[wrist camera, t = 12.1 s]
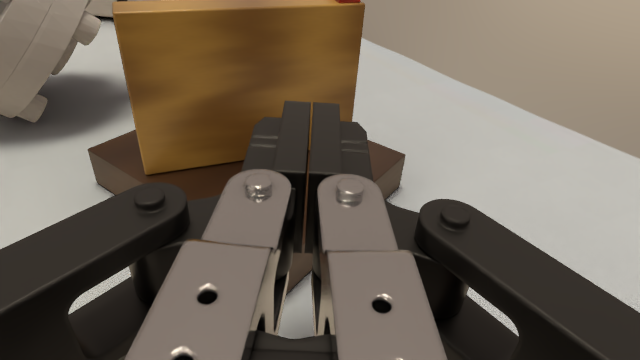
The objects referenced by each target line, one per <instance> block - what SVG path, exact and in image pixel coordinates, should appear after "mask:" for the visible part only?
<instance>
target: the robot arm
mask: <svg viewBox="0 0 640 360" xmlns="http://www.w3.org/2000/svg"><path fill="white" fill-rule="evenodd" d="M310 113H311V102H302V101H285V102H284V107H283V112H282V118H277V117H264V118H263V119H262V120H260V121H259V122H258V123H257V124H255V125H254V129H253V132H252V135H251V139H250V142H249V146H248V149H247V153H246V156H245V159H244V163H243V166H242V170H241V172H240V173H238V174H236V175H234V176H233V177H231V178H230V179H229V180H228V182H227V184H226V186H225V188H224V190H223V192H222V194H219V195H216V196H213V197H208V198H202V199H196V200H189V201H187V196H186V194H185V192H184V191H183V190H182V189H181V188H180V187H178V186H176V185H173V184H169V183H163V182H153V183H146V184H141V185H138V186H135V187H133V188H130V189H128V190H126V191H124V192H122V193H120V194H117V195H115V196H113V197H111V198H109V199H107V200H105V201H103V202H100V203H98V204H96V205H94V206H92V207H90V208H88V209H86V210H83V211H81V212H79V213H77V214H75V215H73V216H71V217H68V218H66V219H64V220H62V221H60V222H58V223H56V224H54V225H51V226H49V227H47V228H45V229H43V230H41V231H39V232H37V233H34V234H32V235H30V236H28V237H26V238H24V239H22V240H20V241H17V242H15V243H13V244H11V245H9V246H7V247H5V248H2V249H0V360H640V313H639V312H637V311H636V310H634V309H633V308H631V307H629V306H628V305H626V304H625V303H623V302H622V301H620V300H618V299H617V298H615V297H614V296H612V295H611V294H609V293H607V292H606V291H604V290H603V289H601V288H600V287H598V286H596V285H595V284H593V283H592V282H590V281H589V280H587V279H585V278H584V277H582V276H581V275H579V274H578V273H576V272H574V271H573V270H571V269H570V268H568V267H567V266H565V265H563V264H562V263H560V262H559V261H557V260H556V259H554V258H552V257H551V256H549V255H548V254H546V253H545V252H543V251H541V250H540V249H538V248H537V247H535V246H534V245H532V244H530V243H529V242H527V241H526V240H524V239H523V238H521V237H519V236H518V235H516V234H515V233H513V232H512V231H510V230H508V229H507V228H505V227H504V226H502V225H501V224H499V223H497V222H496V221H494V220H493V219H491V218H490V217H488V216H486V215H485V214H483V213H482V212H480V211H479V210H477V209H475V208H474V207H472V206H470V205H468V204H466V203H463V202H460V201H456V200H449V199H438V200H433V201H430V202H428V203H426V204H424V205H423V206H422V208H421V209H420V212H419V213H417V212H414V211H410V210H406V209H403V208H400V207H397V206H395V205H392V204H391V203H389V202H387V201H386V200H384V199H383V195H382V192H381V190H380V188H379V187H378V186H377V185H376V184H375V183H374V181H373V175H372V168H371V161H370V154H369V147H368V141H367V134H366V131H365V130H364V129H363V128H362V127H361V126H360V125H359V124H358V122H345V121H340V107H339V104H336V103H319V102H313V115H312V130H311V145H310V161H309V177H308V196H307V215H306V234H305V253H311V254H313V259H312V277H311V286H312V304H313V322H314V336H313V337H308V338H302V339H288V338H284V337H281V336H278V331H279V326H280V321H281V316H282V311H283V306H284V301H285V296H286V291H287V286H288V281H289V270H290V268H291V265H292V258H293V253H302V241H303V227H304V213H305V198H306V184H307V169H308V152H309V132H310ZM128 266H129V269H130V272H131V277H129V278H128V279H126V280H125V281H123V282H121V283H120V284H118V285H116V286H115V287H113V288H112V289H110V290H108V291H107V292H105V293H103V294H102V295H100V296H99V297H97V298H95V299H94V300H92V301H90V302H89V303H87V304H86V305H84V306H82V307H81V308H79V309H77V310H76V311H74V312H73V313H71V314H69V315H68V312H69V309H70V307H71V305H72V303H73V302H74V301H75V300H76V299H77V298H78V297H79V296H80V295H81V294H83V293H84V292H86V291H87V290H89V289H91V288H93V287H94V286H96V285H98V284H99V283H101V282H103V281H104V280H106V279H108V278H109V277H111V276H113V275H114V274H116V273H118V272H119V271H121V270H123V269H124V268H126V267H128ZM469 287H471V288H472V289H473V290H474V291H476V292H477V293H478V294H480V295H481V296H482V297H483V298H485V299H486V300H487V301H489V302H490V303H491V304H492V305H494V306H495V307H496V308H498V309H499V310H500V311H501V312H503V313H504V314H505V315H506V316H508V317H509V318H510V319H511V320H512V322H513V323H514V324H515V326H516V328H517V330H518V333H519V337H518V336H517V335H516V334H515V333H513V332H512V331H511V330H510V329H508V328H507V327H506V326H505V325H503V324H502V323H501V322H500V321H498V320H497V319H496V318H495V317H493V316H492V315H491V314H490V313H488V312H487V311H486V310H485V309H483V308H482V307H481V306H480V305H478V304H477V303H476V302H474V301H473V300H472V299H471V298H469V297H468V296H467V295H466V294H467V291H468V289H469Z"/></svg>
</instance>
